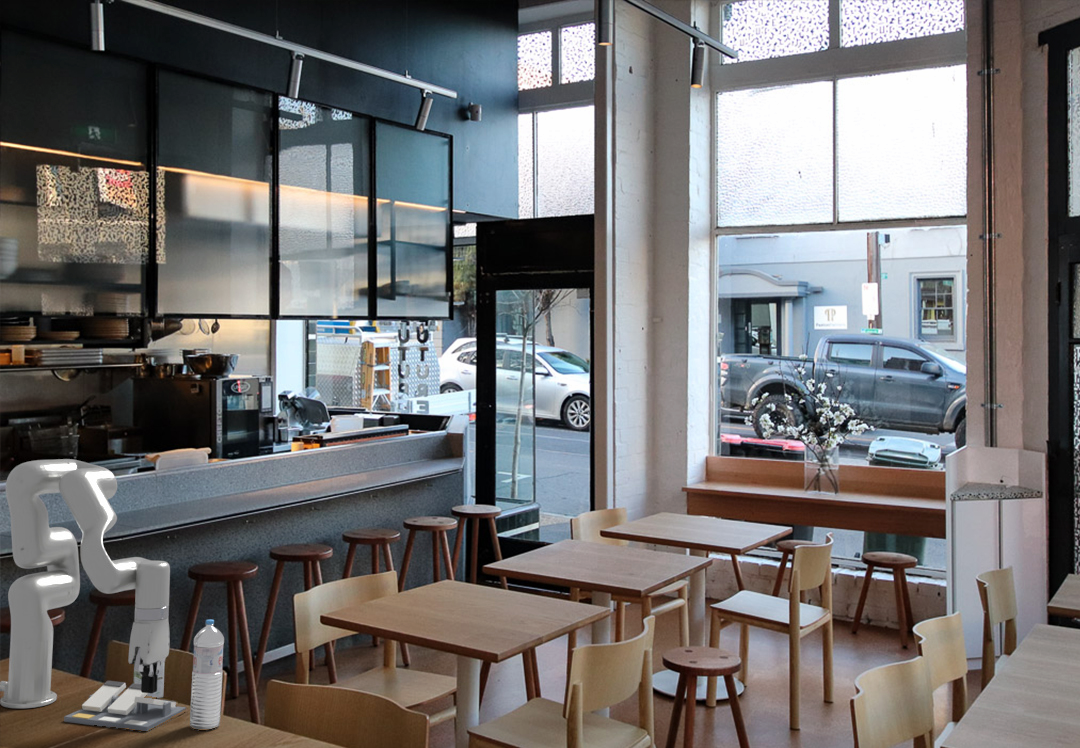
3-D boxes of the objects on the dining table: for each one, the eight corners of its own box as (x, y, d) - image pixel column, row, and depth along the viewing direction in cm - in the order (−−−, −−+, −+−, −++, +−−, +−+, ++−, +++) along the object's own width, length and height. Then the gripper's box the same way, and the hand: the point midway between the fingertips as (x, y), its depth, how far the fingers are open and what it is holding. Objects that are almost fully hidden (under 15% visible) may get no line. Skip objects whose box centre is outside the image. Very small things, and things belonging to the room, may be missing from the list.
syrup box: (164, 697, 265) (166, 640, 265) (141, 701, 260) (144, 643, 261) (153, 692, 269) (156, 636, 269) (131, 696, 264) (134, 639, 265)
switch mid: (108, 712, 245) (106, 707, 245) (132, 687, 254) (132, 682, 254) (127, 715, 244) (126, 709, 243) (151, 690, 253) (150, 684, 253)
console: (64, 721, 242) (65, 704, 243) (107, 702, 258) (108, 686, 258) (146, 732, 237) (147, 714, 238) (186, 712, 253) (186, 696, 253)
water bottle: (210, 732, 239) (215, 624, 240) (183, 729, 240) (189, 621, 241) (225, 723, 246) (230, 618, 246) (199, 721, 247) (204, 616, 248)
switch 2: (133, 701, 243) (135, 695, 244) (156, 705, 252) (157, 699, 253) (153, 704, 242) (154, 697, 242) (175, 707, 251) (176, 701, 251)
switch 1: (82, 709, 247) (81, 704, 246) (108, 684, 256) (107, 679, 255) (101, 711, 245) (100, 706, 245) (126, 687, 255) (125, 682, 254)
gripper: (156, 607, 252) (153, 682, 252) (118, 619, 238) (115, 699, 237) (183, 609, 251) (181, 685, 250) (146, 621, 236) (144, 702, 236)
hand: (149, 691), depth 244 cm, fingers closed
